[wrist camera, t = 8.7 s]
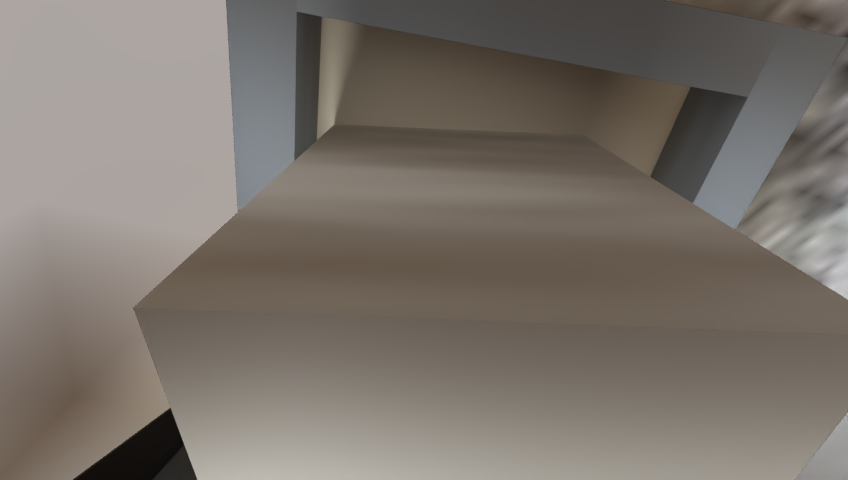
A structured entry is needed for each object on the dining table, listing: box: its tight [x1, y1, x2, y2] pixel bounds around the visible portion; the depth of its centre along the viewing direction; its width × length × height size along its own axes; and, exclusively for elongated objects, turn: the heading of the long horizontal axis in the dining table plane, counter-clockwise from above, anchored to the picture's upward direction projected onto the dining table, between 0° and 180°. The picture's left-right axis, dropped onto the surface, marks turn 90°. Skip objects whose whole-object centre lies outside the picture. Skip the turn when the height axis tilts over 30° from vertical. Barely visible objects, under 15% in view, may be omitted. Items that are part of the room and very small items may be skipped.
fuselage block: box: [133, 125, 848, 480], centre depth 8 cm, size 11×5×6 cm, turn 178°
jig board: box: [226, 0, 848, 229], centre depth 10 cm, size 16×9×2 cm, turn 170°
